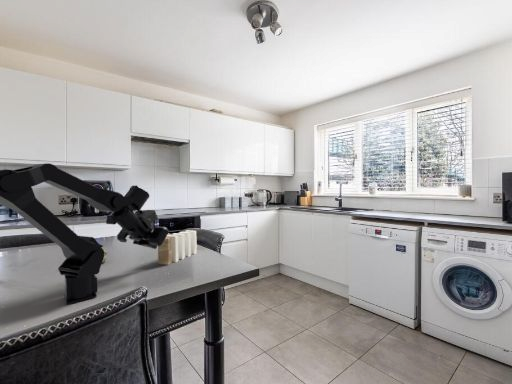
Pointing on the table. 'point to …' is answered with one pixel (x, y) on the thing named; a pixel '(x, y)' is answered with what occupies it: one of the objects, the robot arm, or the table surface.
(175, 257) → the domino
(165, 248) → the domino
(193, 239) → the domino
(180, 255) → the domino
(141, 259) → the table surface
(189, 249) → the domino
